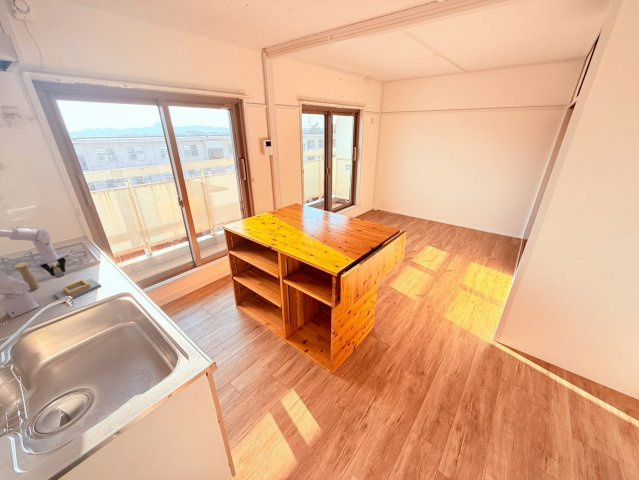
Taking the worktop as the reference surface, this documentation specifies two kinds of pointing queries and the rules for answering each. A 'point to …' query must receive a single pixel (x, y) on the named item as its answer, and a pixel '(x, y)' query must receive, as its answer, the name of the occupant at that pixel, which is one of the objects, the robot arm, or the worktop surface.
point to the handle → (27, 275)
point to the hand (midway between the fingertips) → (58, 273)
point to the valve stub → (57, 271)
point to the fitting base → (77, 288)
